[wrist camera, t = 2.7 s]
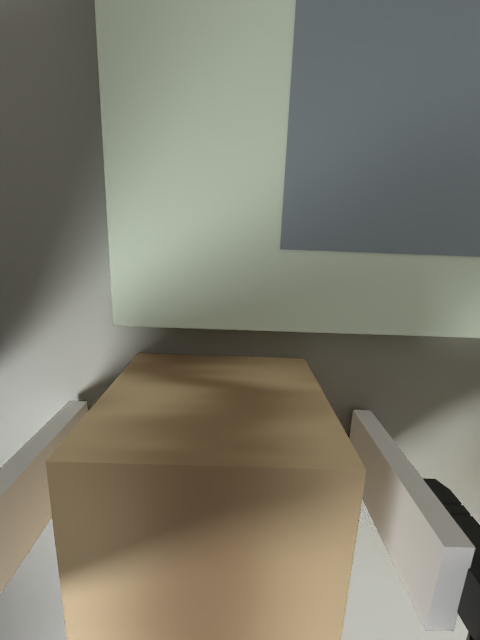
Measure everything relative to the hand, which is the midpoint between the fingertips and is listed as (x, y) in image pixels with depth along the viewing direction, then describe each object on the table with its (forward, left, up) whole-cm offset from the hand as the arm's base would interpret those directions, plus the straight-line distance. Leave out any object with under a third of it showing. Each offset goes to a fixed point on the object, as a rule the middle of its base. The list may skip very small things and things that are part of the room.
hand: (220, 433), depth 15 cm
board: (+6, +12, 0) cm, 13 cm away
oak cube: (0, 0, 0) cm, 0 cm away
